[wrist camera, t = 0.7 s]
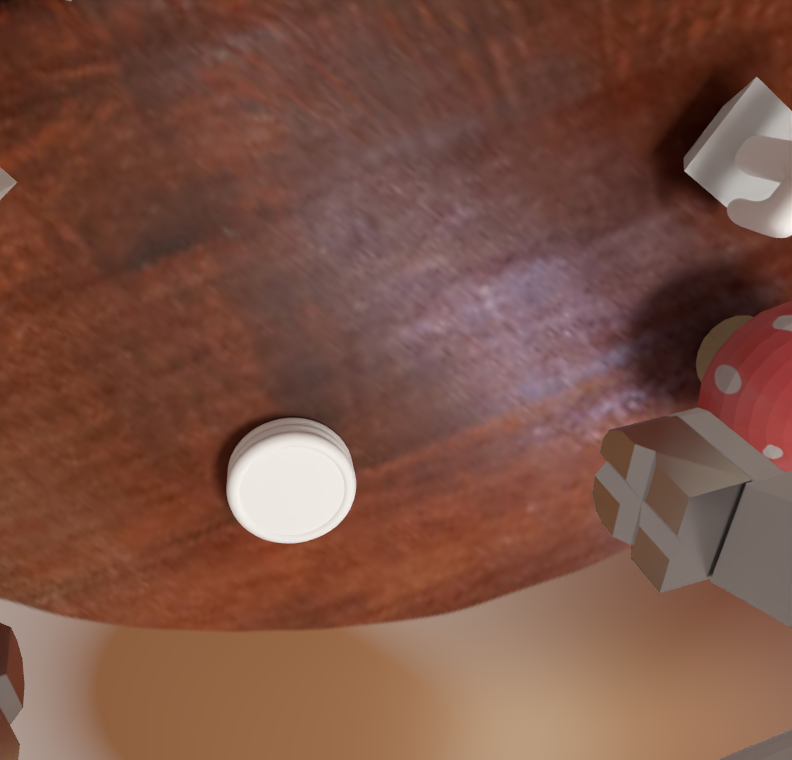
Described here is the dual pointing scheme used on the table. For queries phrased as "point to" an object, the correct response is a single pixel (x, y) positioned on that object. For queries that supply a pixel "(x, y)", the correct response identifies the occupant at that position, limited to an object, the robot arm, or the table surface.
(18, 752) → the robot arm
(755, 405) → the decorative mushroom
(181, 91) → the table surface
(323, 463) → the white round disc
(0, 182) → the tower base cube
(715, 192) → the figurine
